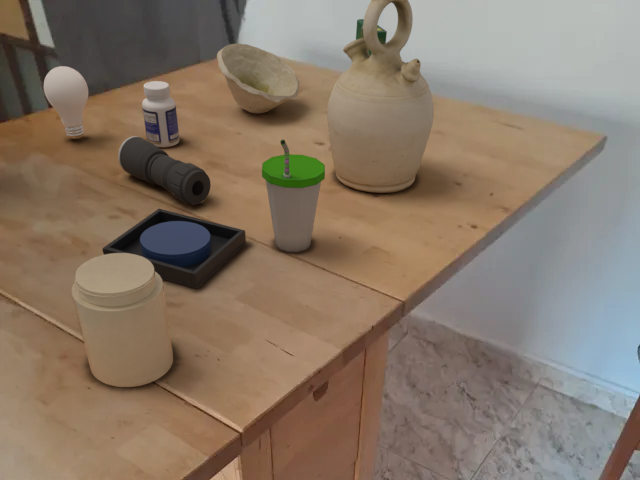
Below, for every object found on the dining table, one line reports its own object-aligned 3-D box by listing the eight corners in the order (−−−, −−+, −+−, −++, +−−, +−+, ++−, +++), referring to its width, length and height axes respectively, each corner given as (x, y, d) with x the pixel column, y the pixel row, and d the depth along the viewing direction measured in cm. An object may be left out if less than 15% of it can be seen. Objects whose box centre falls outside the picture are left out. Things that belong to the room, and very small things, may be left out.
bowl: (267, 131, 119) (266, 69, 112) (204, 114, 124) (199, 53, 117) (314, 108, 128) (315, 48, 121) (253, 92, 133) (251, 34, 126)
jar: (72, 372, 69) (48, 282, 62) (122, 329, 75) (105, 242, 68) (142, 396, 67) (125, 305, 60) (188, 350, 73) (178, 262, 66)
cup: (295, 224, 94) (296, 110, 84) (334, 246, 90) (341, 129, 80) (250, 242, 90) (246, 124, 80) (290, 265, 86) (290, 145, 76)
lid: (224, 243, 89) (223, 230, 87) (188, 274, 83) (186, 261, 82) (167, 228, 91) (165, 215, 90) (127, 257, 85) (125, 244, 84)
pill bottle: (176, 134, 116) (170, 78, 110) (182, 146, 113) (176, 88, 107) (144, 137, 115) (136, 81, 109) (150, 149, 111) (142, 91, 105)
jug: (311, 163, 110) (315, -21, 92) (399, 153, 114) (419, -25, 97) (346, 204, 99) (358, 6, 82) (441, 191, 103) (472, 1, 86)
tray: (105, 262, 85) (102, 248, 84) (160, 222, 93) (158, 208, 92) (196, 288, 81) (195, 274, 80) (246, 244, 90) (245, 230, 88)
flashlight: (215, 200, 99) (213, 163, 95) (186, 212, 96) (182, 174, 92) (150, 167, 106) (145, 132, 102) (121, 177, 103) (115, 141, 99)
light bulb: (90, 129, 117) (76, 58, 109) (102, 142, 113) (89, 70, 105) (50, 135, 114) (33, 63, 106) (61, 149, 110) (45, 75, 102)
